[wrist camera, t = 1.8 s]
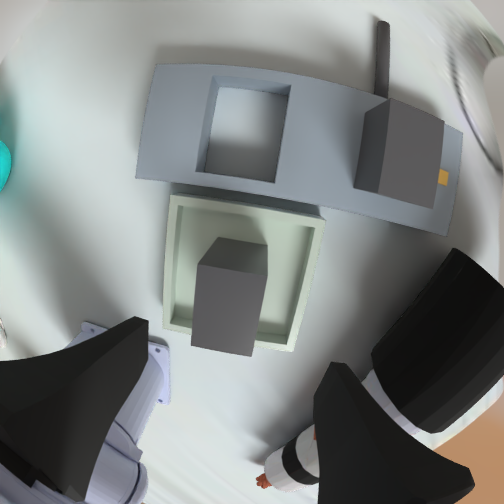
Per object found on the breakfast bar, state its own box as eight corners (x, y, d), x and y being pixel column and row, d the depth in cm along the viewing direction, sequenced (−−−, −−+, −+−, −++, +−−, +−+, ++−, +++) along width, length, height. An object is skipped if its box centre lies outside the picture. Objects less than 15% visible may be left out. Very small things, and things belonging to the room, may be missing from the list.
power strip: (150, 177, 19) (102, 181, 12) (191, -3, 14) (168, -47, 8) (429, 229, 19) (479, 251, 12) (445, 56, 14) (488, 34, 8)
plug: (210, 300, 21) (190, 345, 15) (218, 236, 19) (197, 264, 13) (255, 308, 21) (251, 356, 15) (267, 245, 19) (267, 276, 13)
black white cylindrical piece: (253, 438, 32) (211, 482, 23) (443, 242, 20) (473, 255, 11) (304, 477, 29) (273, 525, 20) (509, 308, 16) (553, 351, 7)
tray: (169, 317, 22) (162, 328, 20) (178, 192, 19) (170, 194, 17) (291, 339, 22) (292, 351, 20) (320, 216, 19) (326, 220, 17)
